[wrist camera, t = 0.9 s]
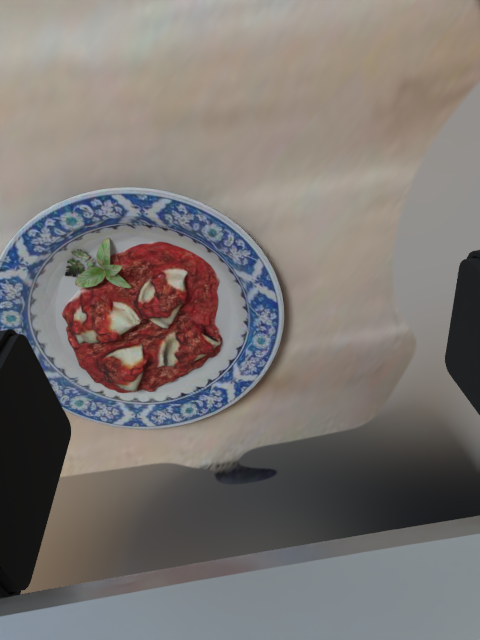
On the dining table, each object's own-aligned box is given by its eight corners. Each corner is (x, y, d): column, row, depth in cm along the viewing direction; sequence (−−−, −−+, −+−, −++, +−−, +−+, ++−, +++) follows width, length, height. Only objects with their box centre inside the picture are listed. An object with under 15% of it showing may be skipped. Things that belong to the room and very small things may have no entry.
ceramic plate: (298, 383, 49) (304, 402, 47) (73, 437, 50) (67, 458, 48) (248, 142, 35) (253, 151, 32) (-65, 225, 36) (-84, 240, 34)
